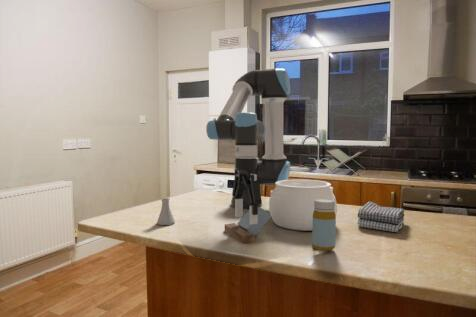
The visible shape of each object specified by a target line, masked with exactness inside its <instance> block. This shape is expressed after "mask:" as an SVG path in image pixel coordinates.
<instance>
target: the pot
mask: <svg viewBox="0 0 476 317" xmlns="http://www.w3.org/2000/svg"><path fill="white" fill-rule="evenodd" d="M275 184H276V185H277V186H275V187H274V188H273V189H271V190H270V191H269V192H270V197H269V201H268V202H269V203H268V211H269V214H270V215H269V216H270V218H271V220H272V221H273V222H274V224H275V225H277V226H279V227H281V228H284V229H287V230H291V231H293V230H294V231H304V232H305V231H306V232H307V231H309V232H310V231H312V226H313V212H314V200H315V199H332V200H334V201H335V207H334V212H335V215H336V216H337V213H338V204H337V199H336V196H335V194H334V192H333V191H334V187H333V186H332V184H331V183H330V182H328V181H324V180H316V179H298V178H297V179H288V180H282V181H277V182H275Z"/></svg>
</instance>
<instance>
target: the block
mask: <svg viewBox="0 0 476 317" xmlns="http://www.w3.org/2000/svg"><path fill="white" fill-rule="evenodd" d="M224 232H225V233H227V234H228V235H230V236H231V237H233V238H234V239H236V240H237V241H239V242H241V243H243V244H250V243H255V242H256V235H255V234H253V233H251V232H249V231H248V230H246V229H244V228H242V227H241V226H239V225H238V224H236V223H235V222H231V223H225V224H224Z"/></svg>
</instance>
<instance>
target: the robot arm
mask: <svg viewBox="0 0 476 317" xmlns="http://www.w3.org/2000/svg"><path fill="white" fill-rule="evenodd" d="M290 94H291V81H290V76H289V74H288V71H287V70H286V69H285V68H267V69H254V70H251V71H248V72H247V73H244V74H243V75H242V76H240V77H239V78H238V79H237V80H236V82H234V84H233V86H232V91H231V94H230V95H229V98H228V100H227V101H226V104H225V105H224V107H223V109H222V110H221V112H220V114H219V116H218V117H217V118H216V119H213V120H212V119H211V120H209V121H208V122H207V124H206V129H205V130H206V136H207V137H208V139H209V140H214V141H216V140H217V141H228V140H229V141H234V142H235V146H234V147H235V148H234V151H235V152H234V153H235V157H236V158H235V161H234V162H235V163H234V169H233V171H234V179H233V180H234V181H233V186H232V192H231V195H232V198H231V201H230V205H231V206H230V207H233V208H235V209H234V210H235V211H234V212H235V213H234V214H235V216H234V217H235V218H241V217H242V218H243V216H244V210H243V209H248V210H249V209H250V225H252V224H258V207H259V208H261V207H262V206H263V201H262V196H261V195H262V194H261V190H260V189H261V187H260V186H273V187H274V186H275V187H276V186H277V185H276V184H275V182H277V181H282V180H289V178H290V173H291V162H290V161H288V159H287V156H286V155H285V154H284V102H285V101H286V100H287V98H288V96H287V95H290ZM255 96H260V97H261V101H263V103H264V122H263V121H261V120H259V119H258V116H257V113H255V112H243V110H244V109H245V106H246V105H247V102H248V100H249V101H250V99H252V97H255ZM263 138H264V155H263V156H262V157H261V160H260V159H259V157H258V141H259V140H260V139H263Z"/></svg>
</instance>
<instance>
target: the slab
mask: <svg viewBox="0 0 476 317" xmlns="http://www.w3.org/2000/svg"><path fill="white" fill-rule="evenodd" d="M269 214H270V213H268V212H267V211H266V210H265V209H264V208H261V207H258V224H252V225H250V208H248V211H247V212H245V214H243V216H242V218H241V219H240V220H238V222H237V225H239V226H241V227H242V228H244V229H246V230H248V231H249V232H251V233H253V234H255V236H256V235H257V234H258V233H259V231H260V230H261V229H262V228H263V227H264V226H265V224H266V223H267V222H268V221H269V220H270V219H271V215H269Z"/></svg>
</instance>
